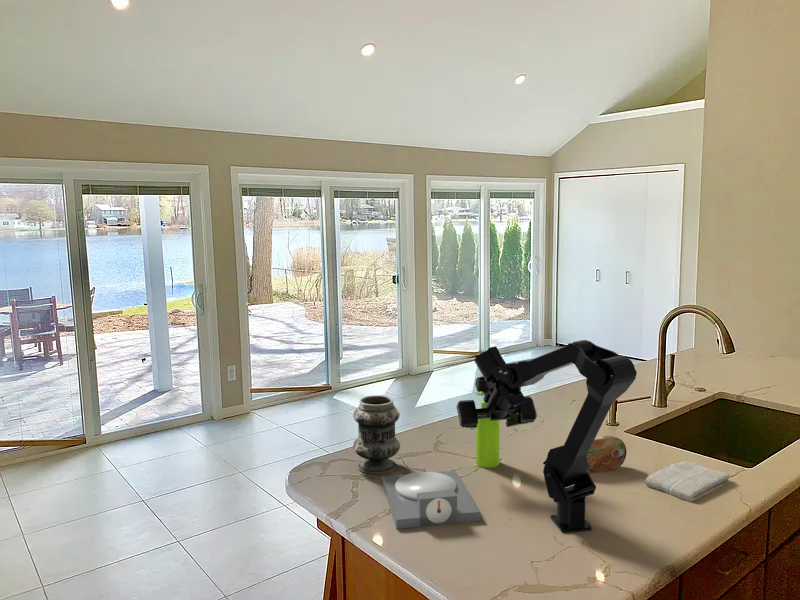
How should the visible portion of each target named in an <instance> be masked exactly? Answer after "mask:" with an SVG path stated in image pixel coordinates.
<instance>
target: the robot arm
mask: <svg viewBox="0 0 800 600" xmlns="http://www.w3.org/2000/svg"><path fill="white" fill-rule="evenodd" d="M473 361H474V363H475V366H477V368H478V370H479V371H480V373H481V375H482V376H478V377H476V379H475V383H474V385H475V386H474V387H475V389H476V392H482V393H485V396H484V395H483V400H484V403H487V405H486V408H481V407H480V408H477V407H476V402H475V401H474V399H465V400H464V399H463V400H459V401H458V402H457V404H456V411H457V416H458V421H459V426H460V427H462V428H467V429H471V431H472V430H473V431H474V430H476V427H477V424H478V419H486V418H490V421H493V420H499V421H504V420H506V422H505V426H506V428H510V427H516V426H520V425H525V424H527V425H528V424H531V423H535V421H536V419H537V417H538V416H537V415H538V414H537V409H536V406H535V403H534V400H533V398H532V397H531V396H529V395H527V396H525V395H524V394H523V392H522V389H521V388H523V387H528V386H532V385H536V384H537V383H538V382H540V381H541V380H543V379H544V378H545V376H546V375H548V374H549V373H552V372H555V371H557V370H560V369H563V368H566V367H568V366H571V365H574V366H575V367H576V369H577V370H578V372H579V374H580V375H581V376H583V377H585V378H586V380H585V384H586V389H587V394H586V398H585V399H584V402H583V404H582V406H581V408H580V409H579V411H578V415H577V416H576V419H575V420H574V422H573V425H572V427H571V429H570V431H569V433H568V435H567V437H566V440H565V442H564V444H563V445H559V446H556V447H552V448H550V449H549V451H548V453H547V456H546V459H545V460H544V461H543V462H542V464H543V465H544V466H543V470H542V472H543V473H542V474H543V477H544V482H545V487H546V490H547V495H548V497H549V498H551V500H553V502H554V503H556V514H553V515H550V519H551V521H552V522H553V523H554V524H555V525H556V526H557V528H558V529H559V531H560V532H562V533H570V532H578V531H588V530H589V531H590V530H593V526H592V525H591V524H590V523H589V522H588V521H587V520H586V503H587V502H586V498H587V497H588V496H592V495H595V492H596V489H597V485H596V484H595V482H594V480H593V479H592V477H591V476H590V474H588V472H587V469H588V460H587V453H588V451H589V449H590V447H591V445H592V443H593V441H594V439H595V437H597V435H598V433H599V431H600V429H601V427H602V425H603V423H604V420H605V419H606V417H607V415H608V413H609V411H610V409H611V407H612V405H613V403H614V402H615V401H616V400H617V399H619V398H620V397H621V396H622V395H624V394H625V393H626V392H627V391H628V389H629V388H630V387H631V385H632V384H633V383H634V382H635V380H636V378H637V370H636V367H635V365H634V363H633V361H632V360H631V359H630V358H629V357H627V356H626V355H620V354H619V353H617V352H614V351H613V350H610V349H607V348H604V347H601V346H599V345H597V344H595V343H593V342H592V341H590V340H588V339H583V340H582V339H581V340H577V341H571V342H569V343H568V344H566V345H564V346H562V347H559V348H556V349H554V350H551V351H550V352H547V353H544V354H542V355H539V356H537V357H535V358H534V357H533V358H527V359H522V360H516V361H512V362H508V363H506V361H505V359H504V358H503V356H502V355H501V353H500V350H499V349H498V347H497V345H496V346H490V347H488V349H487V350H485V351H483V352H481V353H480V354H478V355H476V356H475V358H474V359H473ZM478 415H479V416H478Z"/></svg>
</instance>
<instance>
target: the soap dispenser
mask: <svg viewBox="0 0 800 600" xmlns="http://www.w3.org/2000/svg"><path fill="white" fill-rule="evenodd" d="M475 395H477V396H481V397H484V396H485V393H482V392H478V391H476V392H475ZM486 405H487V403H484V399H483V400H481V401H480V408H486ZM478 416H479V415H478ZM475 430H476V431H475V433H476V434H475V435H476V436H475V437H476V438H475V439H476V440H475V441H476V443H475V445H476V447H475V449H476V450H475V452H476V455H475V456H476V458H475V459H476V460H475V461H476V463H475V464H476V465H477V466H478V467H481V468H484V469H485V468H486V469H492V468H496V467H498V466H499V465H500V420H493V421H490V418H486V419H478V424H477V427H476V428H475Z"/></svg>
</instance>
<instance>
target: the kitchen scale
mask: <svg viewBox="0 0 800 600" xmlns="http://www.w3.org/2000/svg"><path fill="white" fill-rule="evenodd" d="M382 486H383V490H384V493H385V496H386V499H387V503H388V506H389V509H390V512H391V517H392V520H393V522H394V526H395V529H396V530H398V529H399V530H400V529H410V528H418V527H420V528H421V527H430V526H441V525H442V526H443V525H451V524H461V523H462V524H463V523H470V522H471V523H472V522H480V521H481V510H480V509H479V506H477V503H476V502H475V501H474V499H473V497H472V495H471V494H470V493H469V491H468V489H467V487H466V486H465V484H464V483H463V481H462V479H461V477H460V476H459V474H458V472H457V470H446V471H445V470H444V471H419V472H418V471H417V472H412V473H407V474H399V475H388V476H382Z"/></svg>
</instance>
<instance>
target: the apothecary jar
mask: <svg viewBox="0 0 800 600" xmlns="http://www.w3.org/2000/svg"><path fill="white" fill-rule="evenodd" d="M352 415H353V416H352V417H353V419H354V421H355V422H356V423H358V427H357V428H358V429H357V431H358V432H357V433H358V434H357V437H356V439H355V440H354V442H353V450H354V452H355V454H357V455H358V456H359V457H360V458H363V459H364V460H363V461H361V462H360V463H359V464H358V465H357V466H358V467H357V468H358V469H359V470H361V473H365V474H368V473H369V474H368V475H383V474H382V473H384V474H388V473H391V472H392V470H393V471H395V470H396V469H397V468H396V465H397V463H396V462H395V461H394V460H392V459H390V458H393V457H394V456H395V455H397V454H398V452H400V449H401V442H400V440H399V439H398V438H397V437H396V422H398V420H399V419H400V410H399V409H398V407H396V406H395V404H394V400H393V398H392V397H390V396H388V395H383V394H382V395H381V394H380V395H379V394H377V395H375V394H373V395H366V396H363V397H361V398H360V399H359V404H358V407H356V408H355V410H354V411H353V413H352ZM390 471H391V472H390ZM387 472H388V473H387Z"/></svg>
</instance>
